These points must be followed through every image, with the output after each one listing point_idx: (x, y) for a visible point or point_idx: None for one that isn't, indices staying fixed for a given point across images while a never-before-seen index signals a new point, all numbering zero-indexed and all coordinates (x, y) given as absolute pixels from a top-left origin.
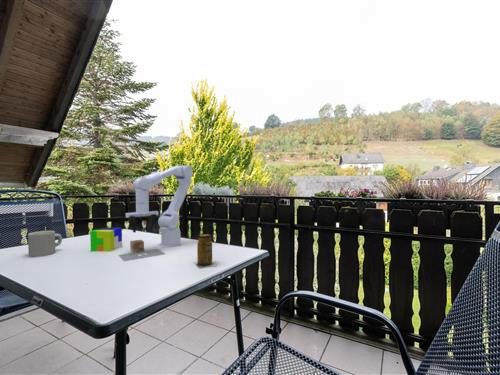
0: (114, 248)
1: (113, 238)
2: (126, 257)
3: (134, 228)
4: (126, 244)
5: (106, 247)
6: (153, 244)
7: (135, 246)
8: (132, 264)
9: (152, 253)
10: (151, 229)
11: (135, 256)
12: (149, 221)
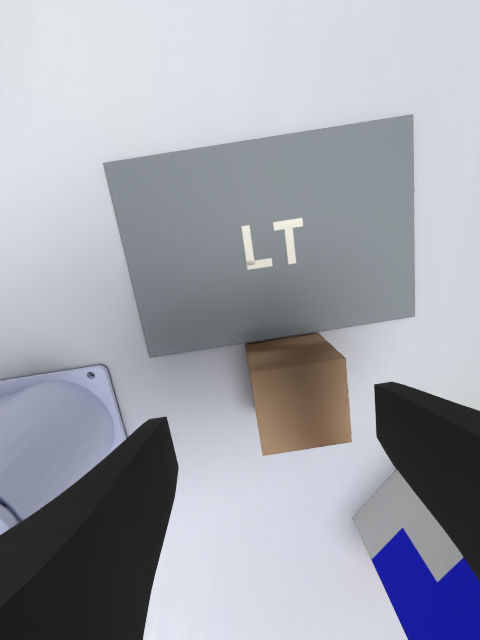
0: None
1: None
2: (379, 220)
3: (434, 399)
4: (320, 561)
5: None
6: None
7: (314, 349)
8: (370, 13)
9: (199, 239)
10: (152, 423)
11: (321, 215)
12: (140, 636)
